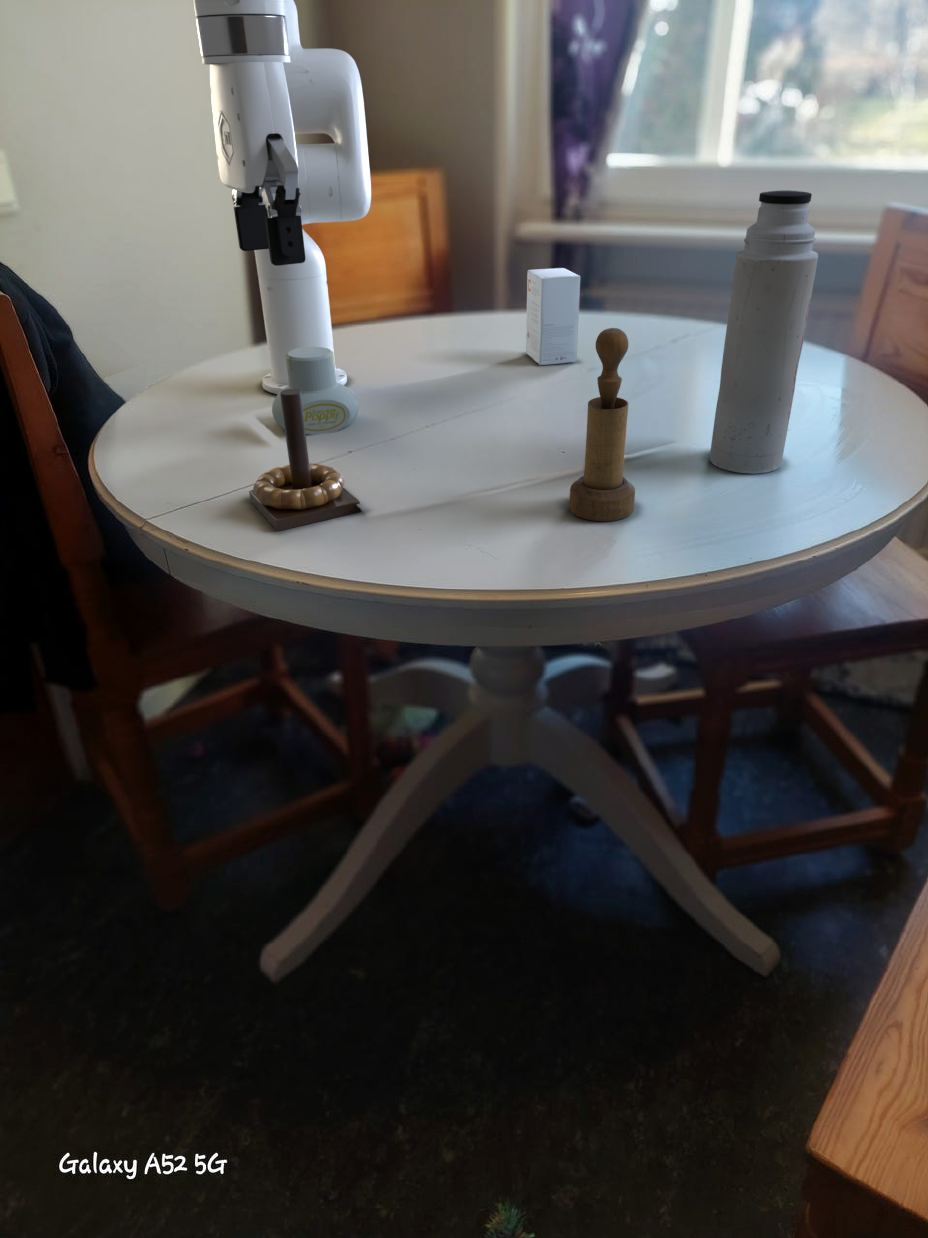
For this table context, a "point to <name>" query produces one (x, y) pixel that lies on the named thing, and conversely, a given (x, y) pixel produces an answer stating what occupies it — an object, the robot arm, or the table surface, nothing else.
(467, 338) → the table surface
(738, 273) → the thermos bottle
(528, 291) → the small box
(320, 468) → the lobed golden ring
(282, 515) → the peg stand
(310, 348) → the air freshener
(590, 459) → the mortar and pestle
